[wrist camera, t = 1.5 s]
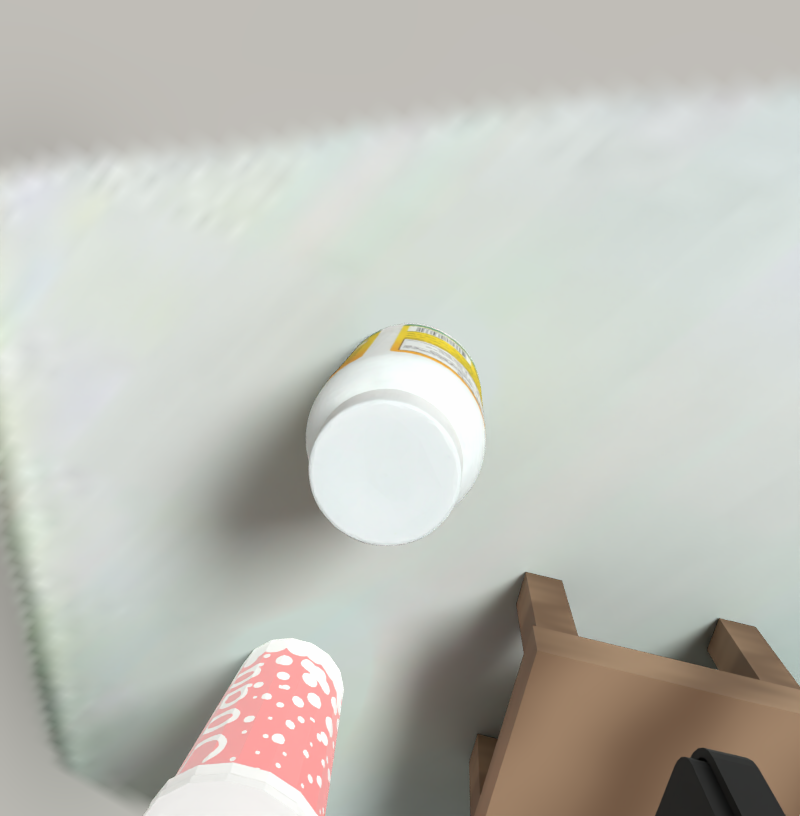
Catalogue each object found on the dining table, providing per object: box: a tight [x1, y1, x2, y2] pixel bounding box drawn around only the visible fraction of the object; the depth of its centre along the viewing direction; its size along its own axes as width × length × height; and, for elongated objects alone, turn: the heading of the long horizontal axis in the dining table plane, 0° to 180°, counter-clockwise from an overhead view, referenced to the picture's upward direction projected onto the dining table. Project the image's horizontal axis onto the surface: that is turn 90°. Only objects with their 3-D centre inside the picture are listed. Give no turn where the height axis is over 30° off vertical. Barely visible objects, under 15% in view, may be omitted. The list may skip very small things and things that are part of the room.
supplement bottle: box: [306, 323, 486, 546], centre depth 23 cm, size 5×5×10 cm
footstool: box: [469, 572, 800, 816], centre depth 27 cm, size 10×10×6 cm
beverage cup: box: [143, 638, 344, 816], centre depth 24 cm, size 6×6×14 cm
